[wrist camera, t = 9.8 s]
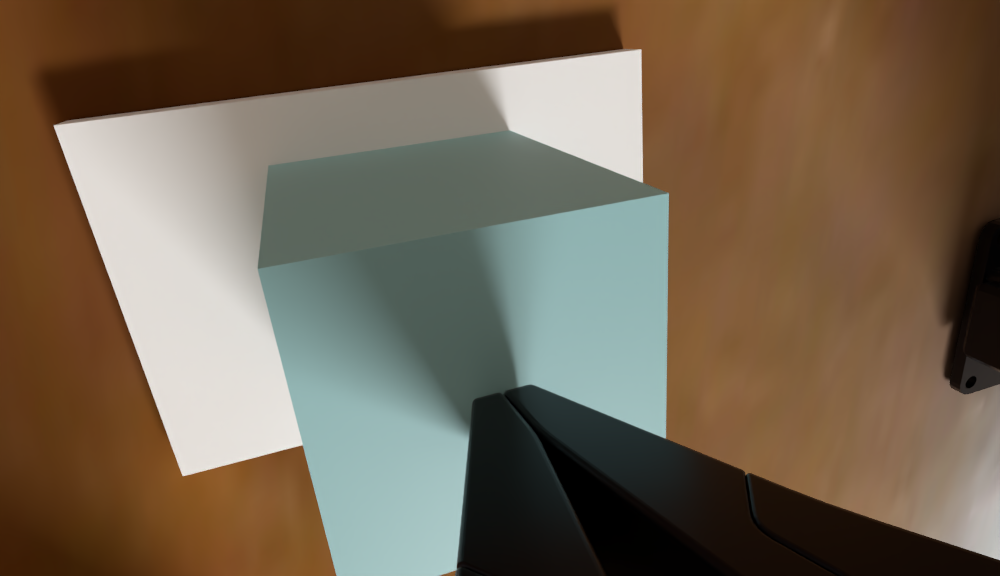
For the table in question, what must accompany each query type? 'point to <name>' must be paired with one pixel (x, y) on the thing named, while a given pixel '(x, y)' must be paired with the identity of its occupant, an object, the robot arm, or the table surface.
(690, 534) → the robot arm
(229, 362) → the post stand
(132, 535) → the table surface
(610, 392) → the teal rectangular block
